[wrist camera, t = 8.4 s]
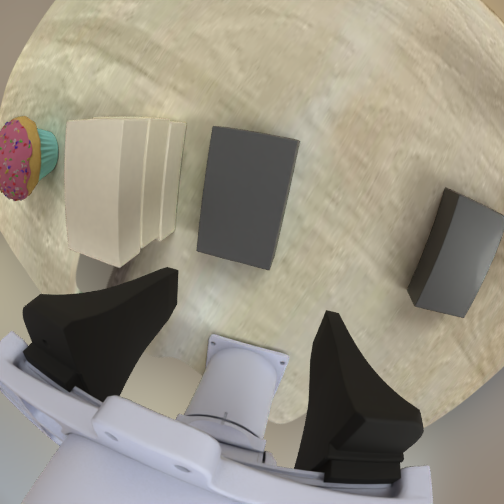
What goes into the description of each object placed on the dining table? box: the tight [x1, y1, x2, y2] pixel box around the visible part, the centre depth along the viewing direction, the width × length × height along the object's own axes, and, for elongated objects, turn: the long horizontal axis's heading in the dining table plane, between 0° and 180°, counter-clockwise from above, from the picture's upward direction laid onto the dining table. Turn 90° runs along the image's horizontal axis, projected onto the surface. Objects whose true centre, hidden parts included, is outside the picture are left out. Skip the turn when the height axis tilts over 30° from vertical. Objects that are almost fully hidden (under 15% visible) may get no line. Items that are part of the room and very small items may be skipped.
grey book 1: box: [197, 126, 300, 270], centre depth 19 cm, size 9×6×2 cm, turn 169°
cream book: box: [64, 119, 148, 268], centre depth 16 cm, size 9×5×2 cm, turn 169°
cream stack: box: [92, 117, 187, 248], centre depth 19 cm, size 9×6×5 cm, turn 169°
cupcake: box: [0, 116, 58, 201], centre depth 17 cm, size 9×8×12 cm
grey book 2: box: [407, 188, 504, 318], centre depth 17 cm, size 9×6×2 cm, turn 169°
